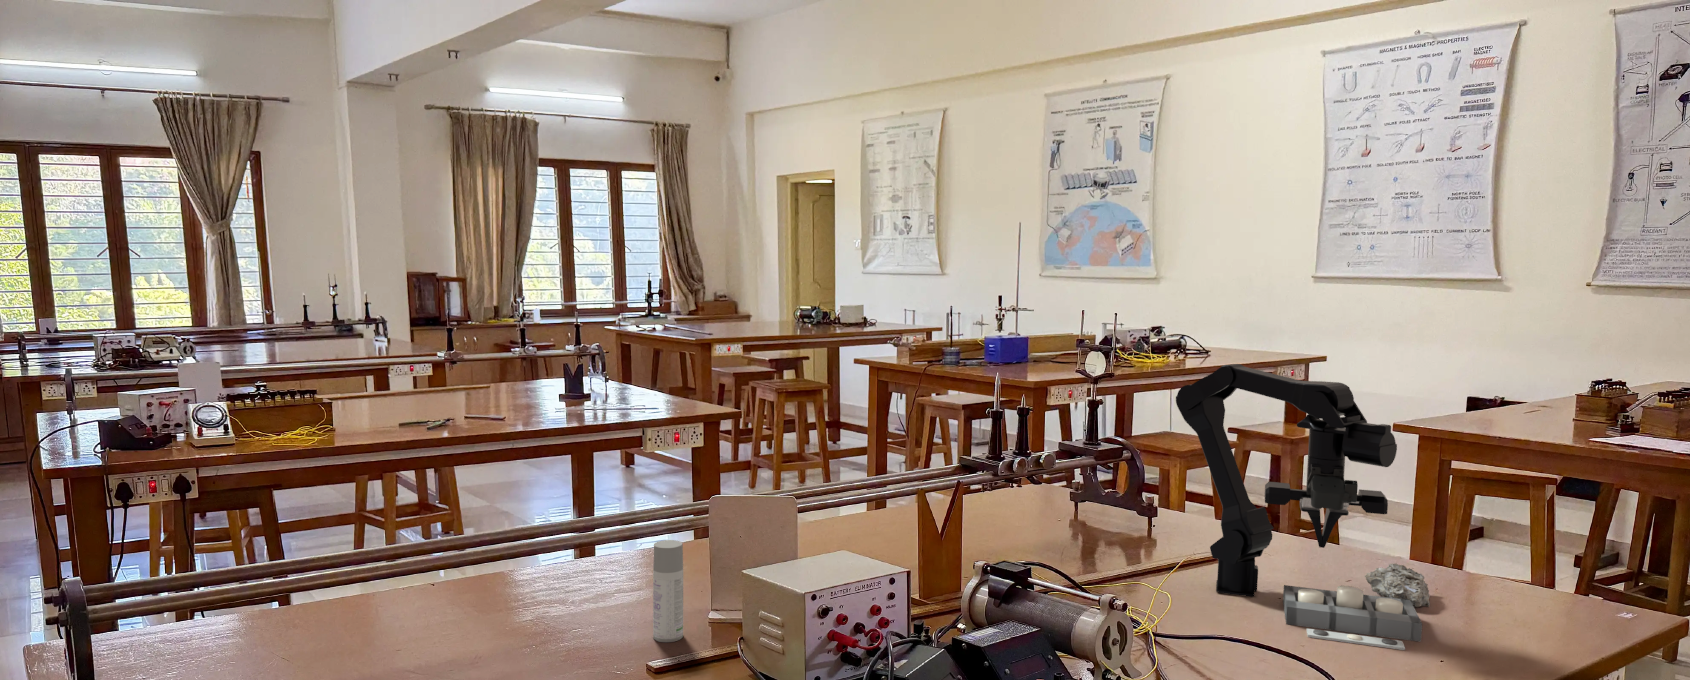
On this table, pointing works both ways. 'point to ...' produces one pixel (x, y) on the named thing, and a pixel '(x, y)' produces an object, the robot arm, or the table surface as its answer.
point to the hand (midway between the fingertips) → (1321, 547)
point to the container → (668, 591)
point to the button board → (1352, 616)
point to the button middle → (1349, 597)
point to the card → (1355, 639)
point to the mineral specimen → (1399, 584)
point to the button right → (1389, 606)
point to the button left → (1310, 596)
